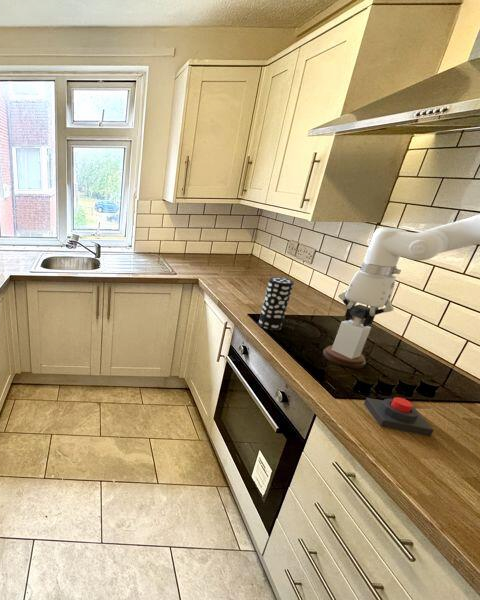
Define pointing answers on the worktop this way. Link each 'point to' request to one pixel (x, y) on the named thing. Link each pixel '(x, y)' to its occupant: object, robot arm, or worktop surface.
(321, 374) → the worktop surface
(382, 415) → the grey stepped base
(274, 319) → the spotted tube
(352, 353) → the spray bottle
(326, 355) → the base
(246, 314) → the worktop surface
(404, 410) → the button
